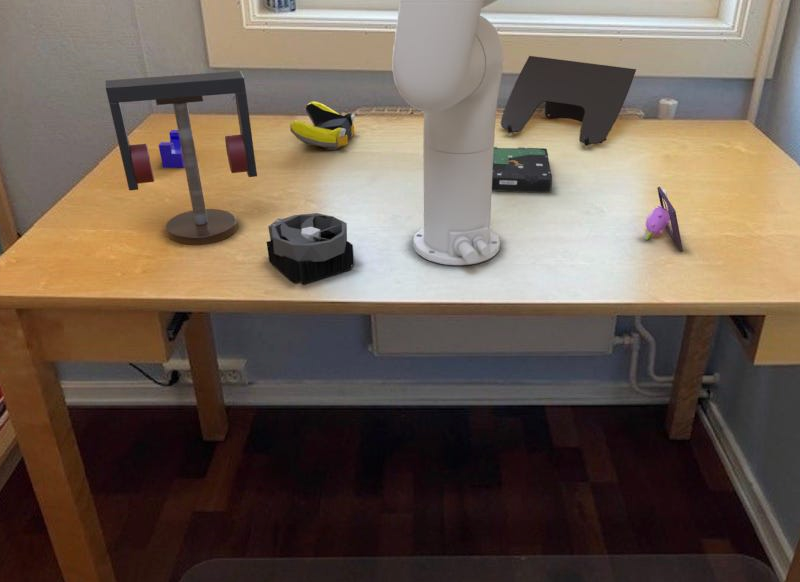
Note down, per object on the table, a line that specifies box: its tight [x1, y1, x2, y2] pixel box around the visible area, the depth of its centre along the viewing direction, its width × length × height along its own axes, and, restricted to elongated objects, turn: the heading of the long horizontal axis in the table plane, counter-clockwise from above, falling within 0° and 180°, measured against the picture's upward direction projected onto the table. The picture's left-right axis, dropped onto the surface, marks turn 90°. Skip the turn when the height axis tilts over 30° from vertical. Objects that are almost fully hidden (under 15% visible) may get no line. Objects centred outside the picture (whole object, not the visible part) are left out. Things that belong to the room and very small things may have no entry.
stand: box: [155, 96, 238, 246], centre depth 111 cm, size 10×10×20 cm
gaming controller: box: [289, 101, 356, 151], centre depth 148 cm, size 15×6×10 cm
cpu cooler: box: [266, 212, 355, 285], centre depth 106 cm, size 10×6×10 cm
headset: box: [105, 70, 258, 191], centre depth 108 cm, size 5×17×14 cm, turn 111°
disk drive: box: [492, 146, 553, 193], centre depth 136 cm, size 10×3×15 cm
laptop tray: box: [500, 55, 637, 150], centre depth 158 cm, size 23×23×9 cm
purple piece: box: [644, 186, 684, 252], centre depth 116 cm, size 7×5×9 cm
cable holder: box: [158, 129, 185, 169], centre depth 139 cm, size 8×4×4 cm, turn 2°
